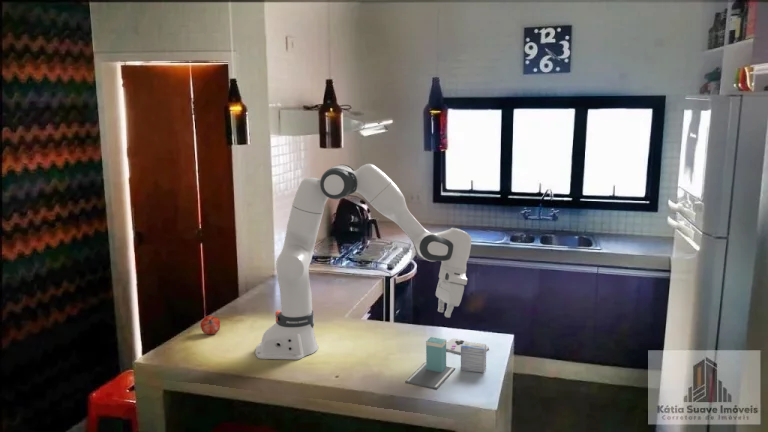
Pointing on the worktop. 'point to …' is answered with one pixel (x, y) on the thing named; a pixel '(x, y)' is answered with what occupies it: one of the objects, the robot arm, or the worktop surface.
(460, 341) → the handheld gaming console
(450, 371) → the mat
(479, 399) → the worktop surface
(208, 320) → the orange pumpkin
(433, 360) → the tea box
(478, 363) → the medicine box
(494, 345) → the worktop surface
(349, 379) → the worktop surface
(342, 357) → the worktop surface
